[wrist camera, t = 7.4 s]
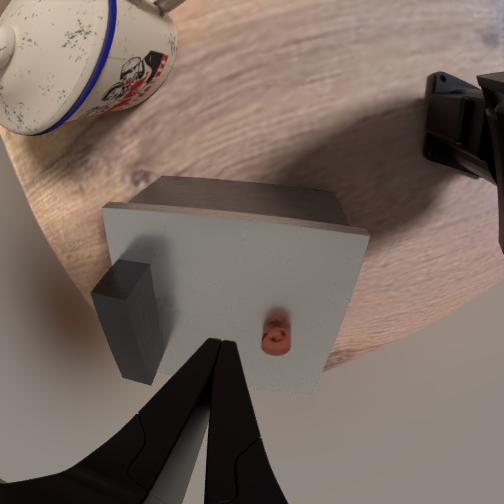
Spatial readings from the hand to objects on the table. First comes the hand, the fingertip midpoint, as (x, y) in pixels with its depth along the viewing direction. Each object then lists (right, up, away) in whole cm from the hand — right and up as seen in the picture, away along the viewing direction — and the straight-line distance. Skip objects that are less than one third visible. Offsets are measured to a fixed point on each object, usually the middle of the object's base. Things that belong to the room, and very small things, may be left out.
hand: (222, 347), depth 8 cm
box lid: (-1, -1, +8) cm, 8 cm away
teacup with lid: (-7, +17, +6) cm, 19 cm away
